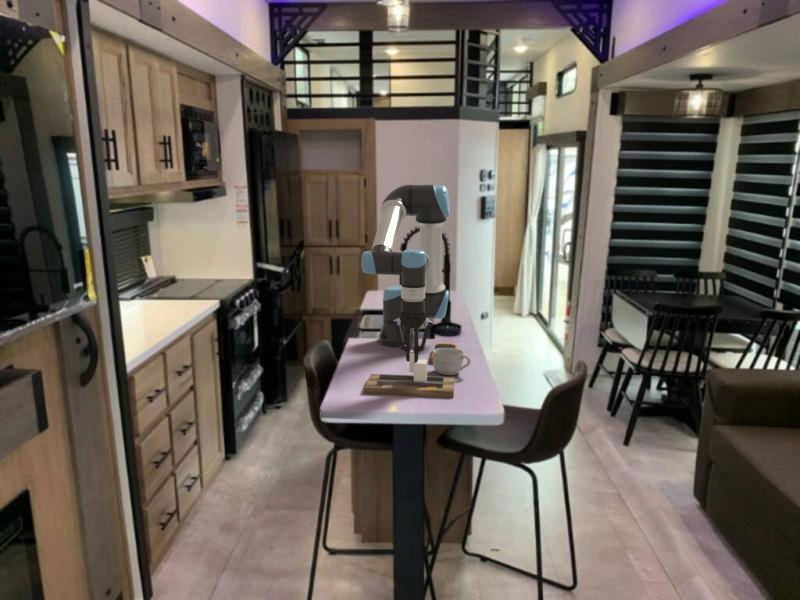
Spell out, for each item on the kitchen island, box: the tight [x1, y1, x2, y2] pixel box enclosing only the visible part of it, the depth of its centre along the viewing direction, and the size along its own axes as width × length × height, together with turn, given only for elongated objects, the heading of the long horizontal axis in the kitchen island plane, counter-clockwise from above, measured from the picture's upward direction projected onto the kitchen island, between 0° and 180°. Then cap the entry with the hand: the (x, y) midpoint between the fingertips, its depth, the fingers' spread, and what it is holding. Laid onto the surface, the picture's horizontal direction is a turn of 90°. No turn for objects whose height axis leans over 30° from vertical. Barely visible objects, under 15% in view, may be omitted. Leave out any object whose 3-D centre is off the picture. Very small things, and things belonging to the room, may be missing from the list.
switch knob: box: [413, 358, 428, 382], centre depth 189 cm, size 4×4×7 cm
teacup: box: [432, 348, 472, 376], centre depth 204 cm, size 14×11×8 cm
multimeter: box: [430, 342, 458, 364], centre depth 223 cm, size 9×18×3 cm, turn 171°
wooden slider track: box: [364, 373, 455, 398], centre depth 190 cm, size 13×28×3 cm, turn 84°
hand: (412, 370), depth 189 cm, fingers closed
